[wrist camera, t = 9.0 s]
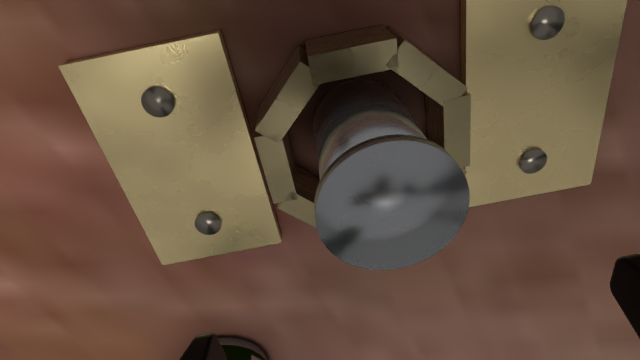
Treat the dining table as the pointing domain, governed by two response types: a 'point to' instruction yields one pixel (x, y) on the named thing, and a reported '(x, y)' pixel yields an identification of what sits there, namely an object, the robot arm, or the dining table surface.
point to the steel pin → (382, 180)
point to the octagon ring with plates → (335, 64)
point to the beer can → (241, 349)
